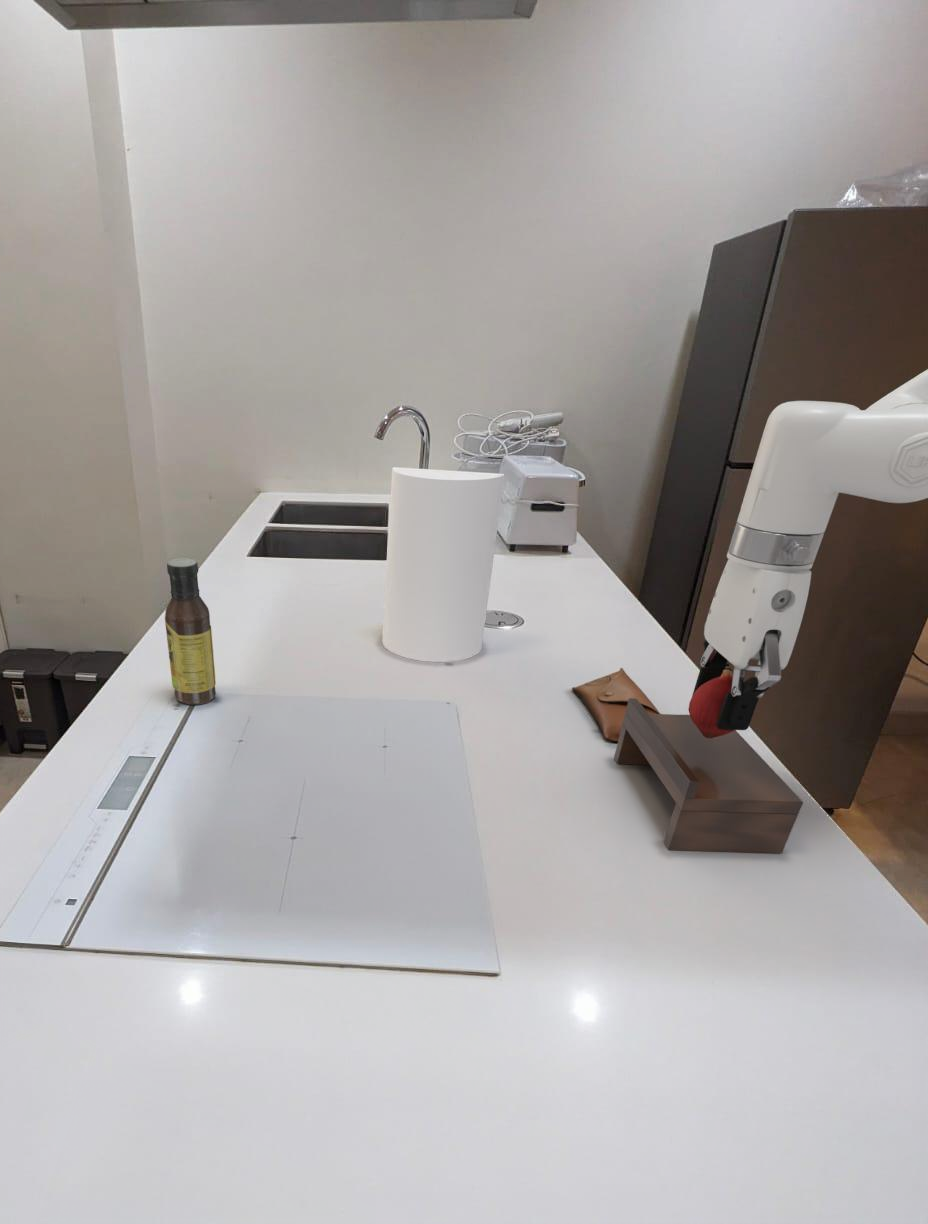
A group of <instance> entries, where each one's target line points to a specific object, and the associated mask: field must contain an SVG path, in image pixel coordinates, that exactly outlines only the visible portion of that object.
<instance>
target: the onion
mask: <svg viewBox="0 0 928 1224" xmlns="http://www.w3.org/2000/svg"><path fill="white" fill-rule="evenodd" d="M732 681H733V672H732V671H730V670H728V669H725V670H723V673H722V675H721V677H717V678H714V679H712V680H710V681H708V682H706V683H704V684H703V685H701V686H700V687H699V688H698V689H697V690H696V691H695V693H694V694H693V693H692V695H693V696H692V695H691V699H690V700H689V703H688V708H687V709H688V713H689V714H688V715H690V717H691V719H692V721H693V723H694V724H695V725H696V727H697V728H698V729H699V730H700V732H701V733H702V735H703V736H704V737H706V738H714V737H719V736H722V735H726V734H728V733H730V732H732V731H734V730H720V729H718V728H717V727H716V722H717V719H718V716H719V713H720V710H721V707H722V704H723V701H724V698H725V695H726V693H731V689H732Z"/></svg>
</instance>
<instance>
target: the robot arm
mask: <svg viewBox="0 0 928 1224" xmlns="http://www.w3.org/2000/svg"><path fill="white" fill-rule="evenodd" d="M839 493H841V494H846V495H851V496H856V497H861V498H864V499H870V500H875V501H880V502H882V503H883V502H884V503H892V504H907V503H914V502H919V501H922V500H926V499H928V368H927V369H926V370H924V371H923V372H921V373H919V374H918V375H916V376H915V377H913V378H911V379H910V380H908V381H906V382H905V383H903V384H902V385H900V386H899V387H897V388H895V389H894V390H892V391H891V392H889V393H887V394H886V395H885V396H883V397H881V398H880V399H879V400H877V401H876V402H874V403H873V404H871V405H869V407H867V408H866V409H860V408H859V407H858V406H856V405H854V404H849V403H844V402H836V401H819V400H793V401H786V402H782V403H781V404H779V405H777V406H776V407H775V408H774V409H773V410H772V411H771V412H770V414H769V416H768V418H767V421H766V424H765V427H764V429H763V432H762V436H761V439H760V442H759V445H758V448H757V453H756V456H755V459H754V463H753V466H752V469H751V472H750V476H749V479H748V483H747V486H746V489H745V493H744V496H743V501H742V502H741V506H740V510H739V513H738V517H737V520H736V524H735V526H734V530H733V533H732V536H731V540H730V543H729V546H728V550H727V554H726V558H727V559H728V560H727V562H726V564H725V566H724V569H723V571H722V572H721V573H722V574H721V576H720V579H719V581H718V584H717V587H716V590H715V593H714V594H713V599H712V602H711V604H710V607H709V609H708V614H707V617H706V621H705V623H704V627H703V628H704V630H703V636H704V642H703V648H704V652H703V654H702V656H701V658H700V666H701V667H700V669H699V671H698V675H697V679H696V682H695V685H694V689H693V691H692V695H691V697H692V696H693V694H694V693H695V691H696V690H697V689H698V688H699V687H700V686H701V685H703V684H704V683H706V682H708V681H710V680H712V679H714V678H717V677H721V675H722V673H723V670H725V669H728V670H730V671H731V672H732V671H733V672H732V674H733V681H732V689H731V693H726V695H725V698H724V701H723V704H722V707H721V710H720V713H719V716H718V719H717V722H716V727H717V728H718V729H720V730H736V731H747V730H748V729H749V727H750V725H751V722H752V720H753V719H752V718H753V716H754V713H755V711H756V707H757V704H758V701H759V699H761V698H762V697H763V696H764V694H765V693H766V692H767V691H768V690H770V688H771V687H772V686H774V685H776V684H777V683H779V682H780V681H781V679H782V670H783V671H784V669H785V668H786V667H787V666H788V664H789V661H790V658H791V656H792V653H793V650H794V648H795V644H796V641H797V637H798V635H799V631H800V628H801V624H802V621H803V617H804V614H805V610H806V607H807V606H806V605H807V601H808V597H809V591H810V586H811V580H812V571H811V570H812V568H813V565H814V562H815V560H816V557H817V554H818V552H819V548H820V546H821V543H822V540H823V538H824V535H825V532H826V529H827V526H828V524H829V521H830V519H831V515H832V514H833V513H832V512H833V509H834V508H835V505H836V503H837V499H838V496H839ZM750 660H752V661H757V665H756V664H755V665H751V664H750V665H749V662H750ZM731 664H732V666H733V669H732V668H729V667H730V665H731ZM746 672H752V673H753V672H755V673H754V677H753V676H751V677H749V678H748V679H746V680H745V673H746Z"/></svg>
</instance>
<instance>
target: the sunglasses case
mask: <svg viewBox="0 0 928 1224" xmlns="http://www.w3.org/2000/svg"><path fill="white" fill-rule="evenodd" d="M571 691H573V692H574V693H575V694H576V695H577V696H578V697H579V699H580V700H581V701H582V703H583V704H584V706H585V707H586V708H587V710H588V711H589V713H590V714H591V716H592V718H593V720H594V721H595V723H596V725H597V726H598V728H599V730H600V731H601V734H602V735H603V737H604V738H605V739H606V740H609V741H611V742H617V743H618V740H619V736H620V732H621V728H622V724H623V720H624V716H625V712H626V708H627V704H628V700H629V698H631V699H637V700H638V701H639V702H640V704H641V705H642V706H643V708H644V709H645V710H646V712H647V713H648V714H661V713H660V711H659V710H658V709H657V707H656V706H655V705H654V703H652V701H651V700H650V698H649V697H648V696H647V695H646V694H645V693H644V691H643V690H642V689H641V688H640V687H639V686H638V685H637V684H636V682H635V681H634V680H633V679H632V678H631V677H630V676H629V675H628V674H627V673H626V671H625V670H624V668H622V667H620V668H619V670H618V671H615V672H612V673H609V674H606V675H604V676H601V677H599V678H596V679H593V680H591V681H588V682H586V683H583V684H581V685H577V686H572V687H571Z"/></svg>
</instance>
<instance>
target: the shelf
mask: <svg viewBox="0 0 928 1224" xmlns="http://www.w3.org/2000/svg"><path fill="white" fill-rule="evenodd" d="M616 744H617V745H616V748H615V751H614V756H613V760H614V761H615V763H616V764H617V765H637V766H650V767H651V769H652V770H653V771H654V772H655V774H656V776H657V777H658V779H659V780H660V781H661V783H662V785H663V786H664V787H665V789H666V790H667V792H668V794H669V795H670V796H671V798H672V800H673V801H674V802H675V805H674V808H673V811H672V815H671V817H670V821H669V823H668V827H667V830H666V833H665V836H664V839H663V843H664V845H665V846H666V848H667V850H668V851H695V852H696V851H697V852H721V853H722V852H723V853H724V852H726V853H729V852H730V853H754V854H755V853H758V854H759V853H760V854H783V851H784V850H785V847H786V845H787V842H788V839H789V838H790V835H791V832H792V829H793V828H794V825H795V823H796V821H797V818H798V816H799V814H800V811H801V809H802V807H803V804H804V801H803V799H801V798H800V797H799V796H798V794H797V793H795V792H794V791H793V789H792V788H791V787H790V786H789V785H788V784H787V783H786V782H785V781H784V780H783V779H782V777H781V776H779V774H777V772H775V771H774V769H773V768H772V767H771V766H770V765H769V764H768V763H767V762H766V761H765V760H764V759H763V758H762V756H761V755H760V754H759V753H758V752H757V751H756V750H755V749H754V748H753V747H752V745H750V744H749V742H747V741H746V739H745V738H744V737H743V736H742V735H741V734H740V733H739V732H738V730H734V731H732V732H730V733H728V734H726V735H722V736H719V737H714V738H706V737H704V736H703V735H702V733H701V732H700V730H699V729H698V728H697V727H696V725H695V724H694V723H693V721H692V719H691V717H690V714H672V713H660V714H648V713H647V712H646V710H645V709H644V708H643V706H642V705H641V704H640V702H639V701H638V700H637V699H631V698H629V700H628V704H627V708H626V712H625V716H624V720H623V724H622V728H621V732H620V736H619V740H618V742H617V743H616Z"/></svg>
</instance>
